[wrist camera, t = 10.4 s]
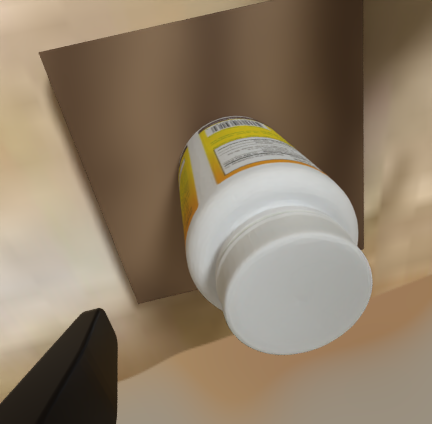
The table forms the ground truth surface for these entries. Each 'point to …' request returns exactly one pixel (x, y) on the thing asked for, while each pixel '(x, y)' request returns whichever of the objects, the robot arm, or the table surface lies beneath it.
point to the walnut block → (208, 113)
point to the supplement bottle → (270, 238)
